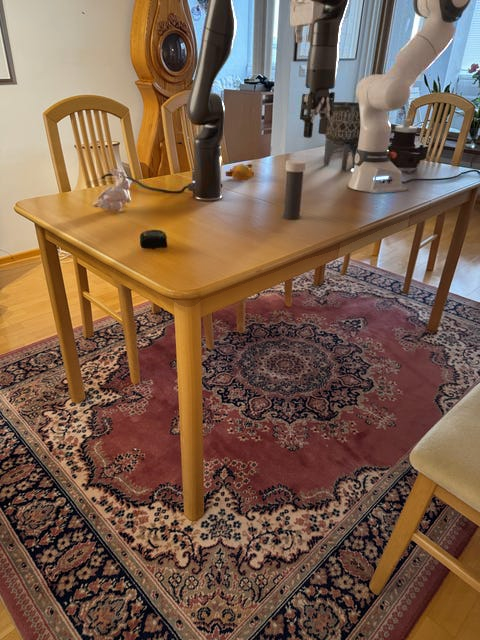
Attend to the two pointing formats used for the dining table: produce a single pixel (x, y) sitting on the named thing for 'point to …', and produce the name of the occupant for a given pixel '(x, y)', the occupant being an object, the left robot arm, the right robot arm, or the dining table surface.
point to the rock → (340, 150)
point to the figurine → (115, 193)
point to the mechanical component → (407, 148)
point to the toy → (241, 172)
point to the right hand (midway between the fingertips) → (304, 42)
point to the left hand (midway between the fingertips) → (315, 135)
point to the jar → (293, 195)
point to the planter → (343, 131)
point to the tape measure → (153, 239)
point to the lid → (295, 165)
